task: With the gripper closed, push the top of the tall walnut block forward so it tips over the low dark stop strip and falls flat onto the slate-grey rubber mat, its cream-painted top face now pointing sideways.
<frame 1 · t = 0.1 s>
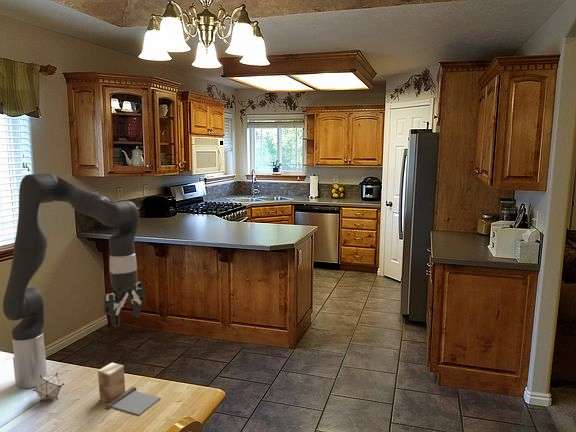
hand: (126, 321, 134), 29 cm above the table, tool pointing down, fingers open, 8 cm apart
stop strip: (121, 398, 145), on the table
slate-grey rubber mat: (136, 403, 142), on the table
walnut block: (112, 396, 146), on the table
game die: (50, 399, 145), on the table
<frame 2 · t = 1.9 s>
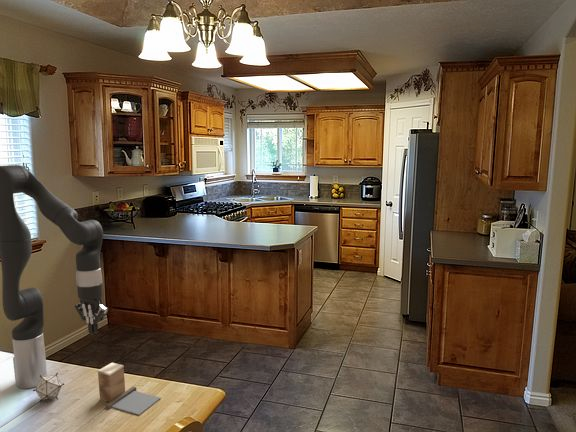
hand: (93, 333, 146), 21 cm above the table, tool pointing down, fingers closed
nothing on the table moved.
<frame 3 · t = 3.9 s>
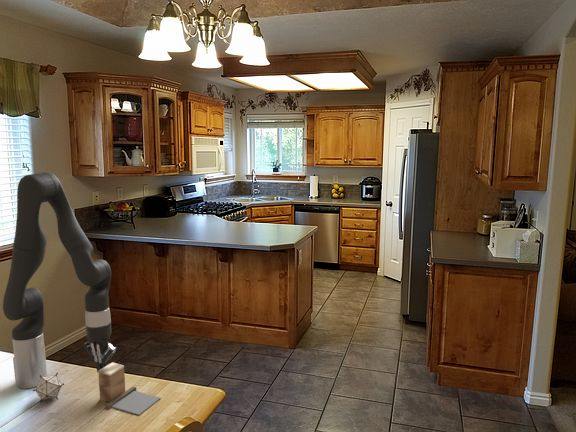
hand: (101, 371, 147), 8 cm above the table, tool pointing down, fingers closed
walnut block: (112, 396, 146), on the table, touching gripper
everything else where it was.
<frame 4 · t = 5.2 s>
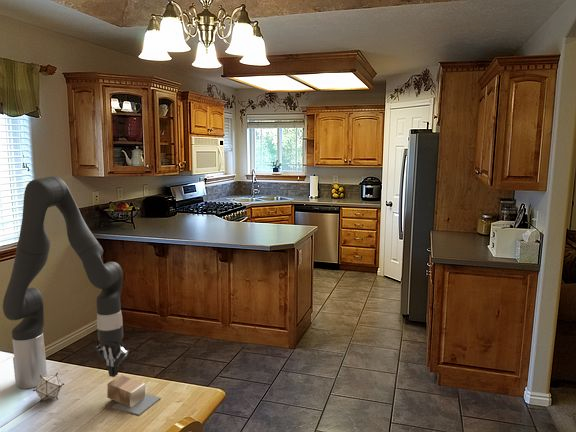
hand: (113, 375, 145), 8 cm above the table, tool pointing down, fingers closed
walnut block: (114, 386, 145), point 4 cm above the table, tilted 95°, touching slate-grey rubber mat, stop strip
everything else where it was.
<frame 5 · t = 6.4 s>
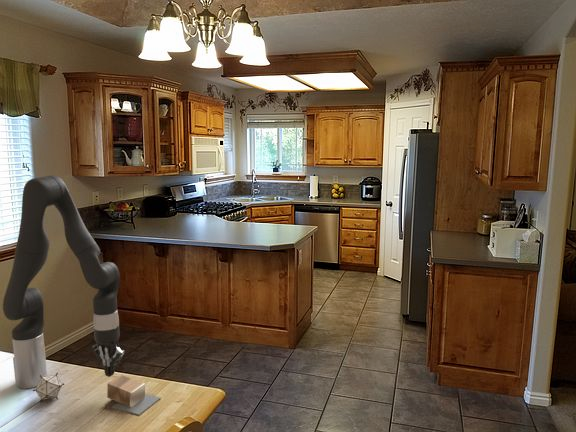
hand: (109, 375, 146), 7 cm above the table, tool pointing down, fingers closed
nothing on the table moved.
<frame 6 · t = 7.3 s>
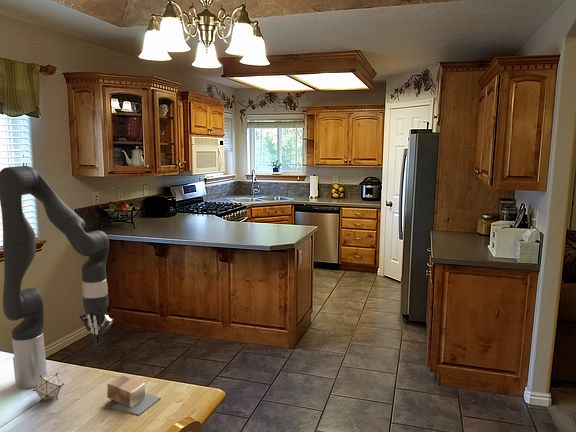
hand: (98, 343, 146), 17 cm above the table, tool pointing down, fingers closed
nothing on the table moved.
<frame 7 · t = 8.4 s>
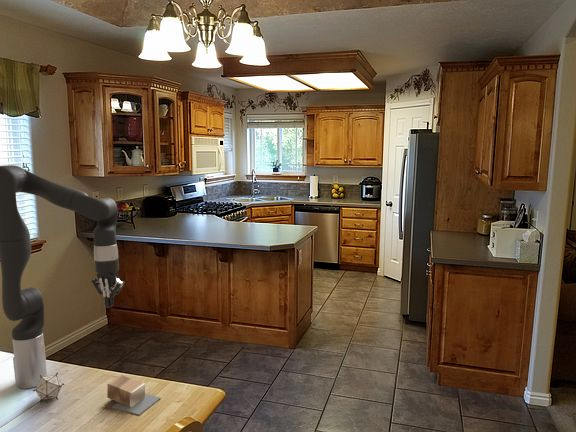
hand: (109, 306, 152), 27 cm above the table, tool pointing down, fingers closed
nothing on the table moved.
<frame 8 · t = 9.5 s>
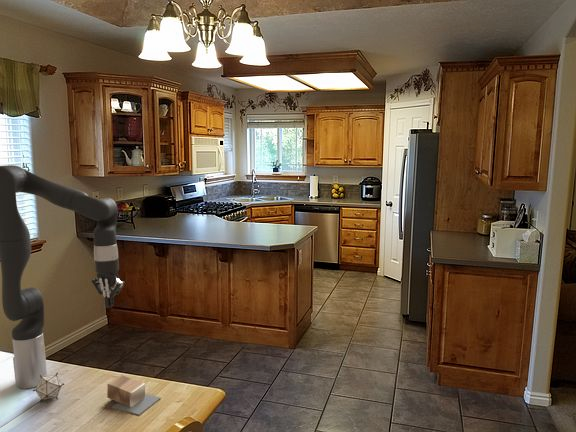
hand: (109, 306, 152), 27 cm above the table, tool pointing down, fingers closed
nothing on the table moved.
at the end: walnut block tilted 95°; walnut block inside the target area (9.9 cm from its centre), point 3.8 cm above the table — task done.
